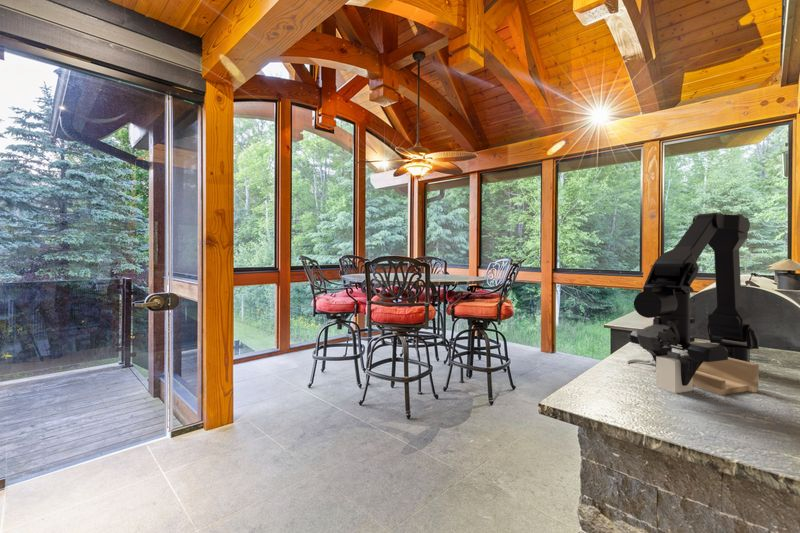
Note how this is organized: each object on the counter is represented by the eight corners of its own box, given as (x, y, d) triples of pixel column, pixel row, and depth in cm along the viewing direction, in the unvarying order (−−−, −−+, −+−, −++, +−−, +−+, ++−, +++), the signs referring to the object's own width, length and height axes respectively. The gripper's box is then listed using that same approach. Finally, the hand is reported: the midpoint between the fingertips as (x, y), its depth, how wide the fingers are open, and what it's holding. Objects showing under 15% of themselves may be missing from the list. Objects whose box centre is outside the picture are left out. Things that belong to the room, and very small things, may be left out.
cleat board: (693, 372, 95) (693, 348, 94) (758, 391, 81) (758, 364, 81) (664, 376, 92) (664, 352, 92) (726, 396, 79) (726, 368, 79)
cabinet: (673, 383, 87) (673, 349, 87) (692, 390, 83) (692, 354, 82) (656, 386, 86) (656, 351, 86) (675, 393, 81) (675, 356, 81)
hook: (691, 358, 106) (660, 384, 95) (654, 352, 114) (621, 374, 103) (689, 334, 105) (658, 357, 94) (652, 329, 113) (619, 349, 102)
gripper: (611, 309, 91) (611, 373, 91) (687, 323, 73) (687, 401, 73) (648, 307, 93) (648, 368, 94) (730, 319, 75) (729, 395, 76)
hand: (674, 381), depth 84 cm, fingers closed on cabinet, 4 cm apart
